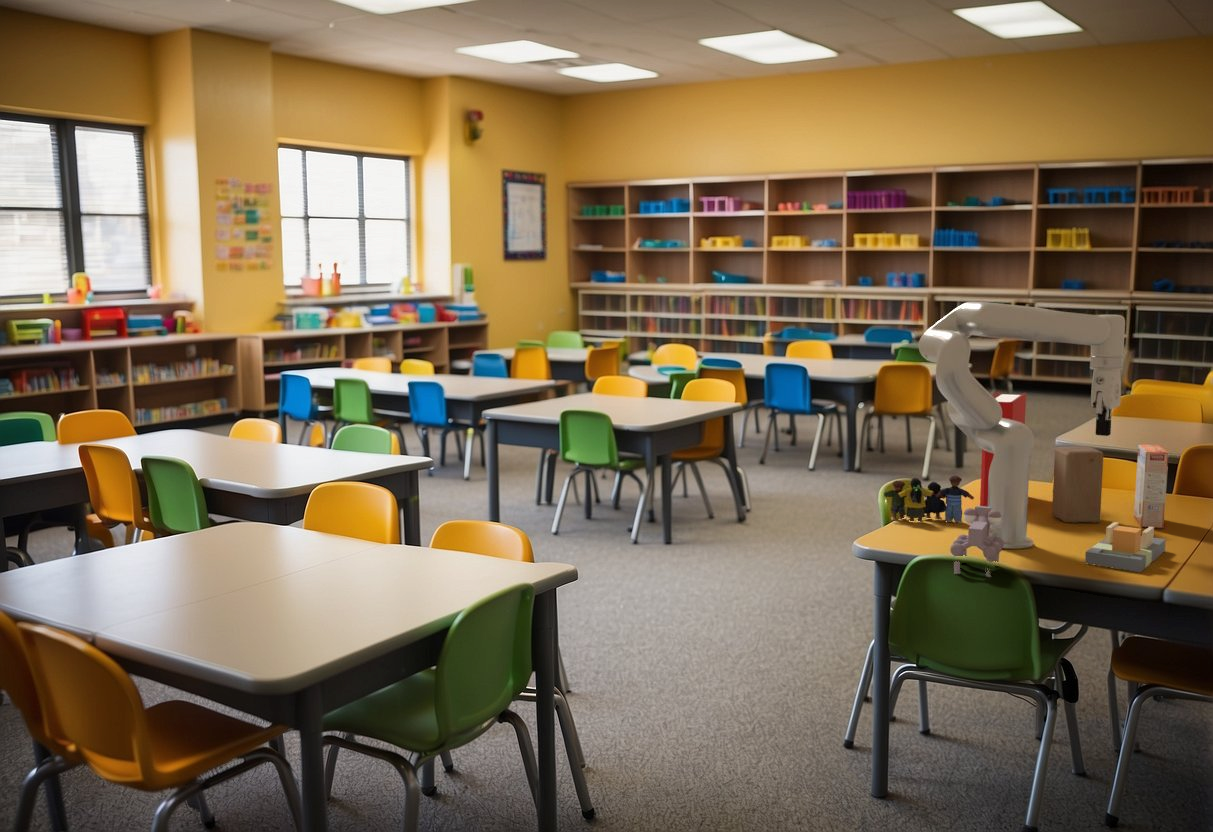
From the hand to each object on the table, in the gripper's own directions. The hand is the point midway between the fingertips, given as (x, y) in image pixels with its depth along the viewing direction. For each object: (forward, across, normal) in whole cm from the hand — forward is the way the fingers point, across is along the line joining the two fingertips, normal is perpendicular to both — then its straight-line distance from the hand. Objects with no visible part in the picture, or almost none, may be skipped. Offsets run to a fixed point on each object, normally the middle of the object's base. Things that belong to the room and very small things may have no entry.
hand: (1102, 434), depth 276 cm
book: (+27, +29, +35) cm, 53 cm away
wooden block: (+27, +19, +11) cm, 35 cm away
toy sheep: (+27, -44, +14) cm, 54 cm away
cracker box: (+27, +27, -6) cm, 39 cm away
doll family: (+27, -7, +43) cm, 51 cm away
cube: (+24, -20, -12) cm, 33 cm away
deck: (+27, -16, -11) cm, 33 cm away
